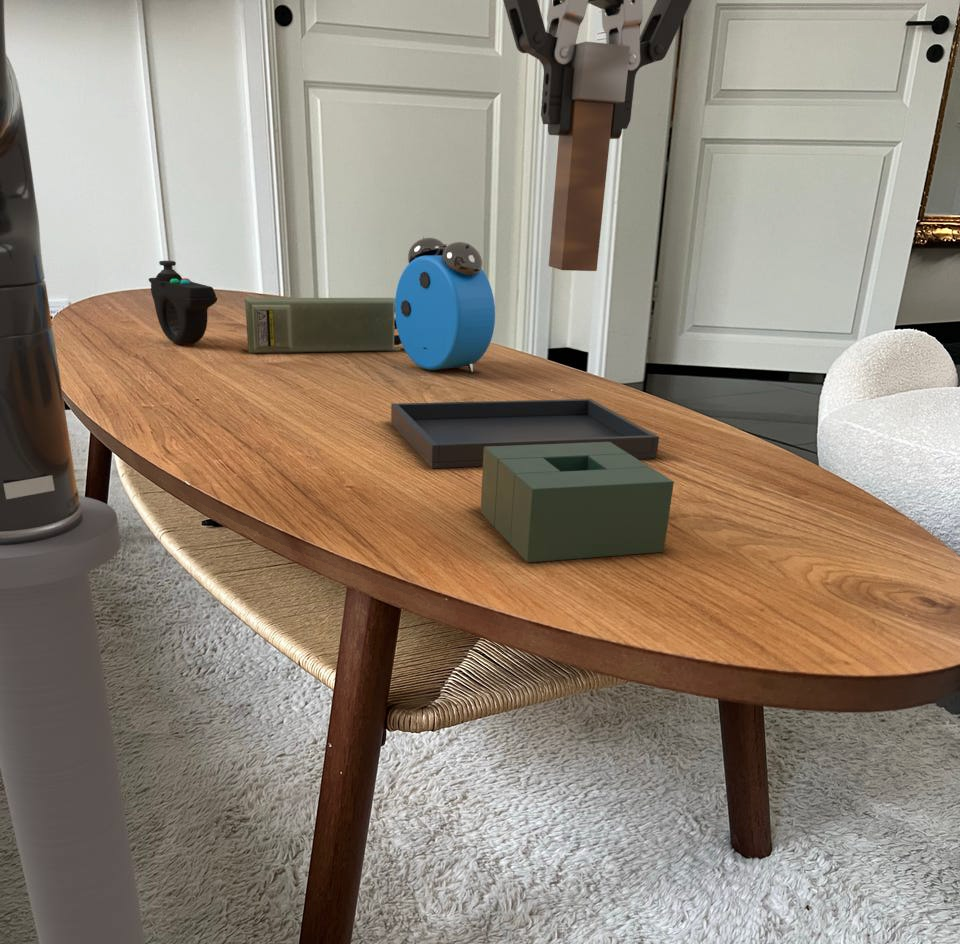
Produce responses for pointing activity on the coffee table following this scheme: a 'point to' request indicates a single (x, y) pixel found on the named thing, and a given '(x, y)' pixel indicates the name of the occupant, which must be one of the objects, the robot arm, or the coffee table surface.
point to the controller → (181, 305)
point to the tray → (512, 428)
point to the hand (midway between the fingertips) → (583, 135)
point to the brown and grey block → (586, 155)
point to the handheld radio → (320, 324)
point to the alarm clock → (444, 305)
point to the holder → (574, 500)
